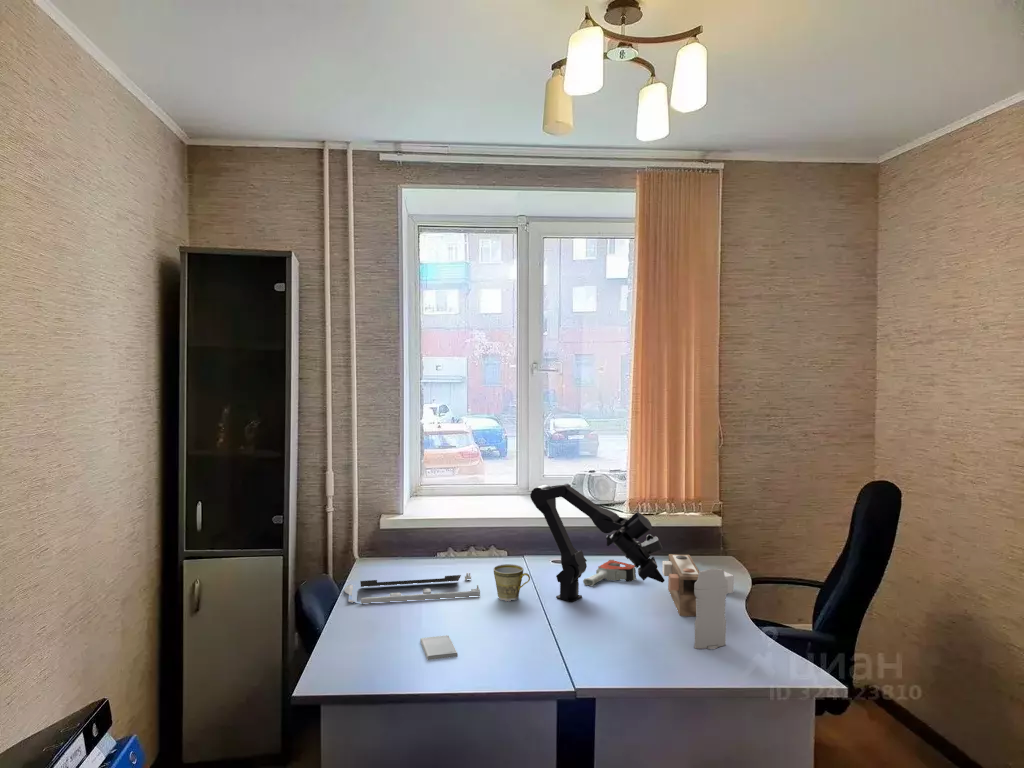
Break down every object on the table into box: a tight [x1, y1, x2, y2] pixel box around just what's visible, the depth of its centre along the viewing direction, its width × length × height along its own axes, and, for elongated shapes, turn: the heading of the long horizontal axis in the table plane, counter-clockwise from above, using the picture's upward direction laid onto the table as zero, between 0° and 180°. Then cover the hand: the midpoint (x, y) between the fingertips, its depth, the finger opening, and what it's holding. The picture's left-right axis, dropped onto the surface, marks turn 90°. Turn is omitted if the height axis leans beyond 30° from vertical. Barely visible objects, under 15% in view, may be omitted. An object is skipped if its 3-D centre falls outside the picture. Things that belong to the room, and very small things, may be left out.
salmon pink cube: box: [669, 574, 679, 591], centre depth 219 cm, size 4×4×4 cm
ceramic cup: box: [493, 563, 531, 602], centre depth 228 cm, size 13×10×10 cm
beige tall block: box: [694, 568, 728, 650], centre depth 191 cm, size 11×4×22 cm, turn 106°
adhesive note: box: [724, 571, 735, 594], centre depth 237 cm, size 6×6×6 cm
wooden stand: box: [667, 553, 700, 617], centre depth 226 cm, size 7×24×13 cm, turn 176°
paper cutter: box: [344, 572, 481, 604], centre depth 234 cm, size 18×45×6 cm, turn 102°
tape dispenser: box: [582, 559, 637, 587], centre depth 250 cm, size 18×5×20 cm
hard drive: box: [419, 634, 459, 661], centre depth 189 cm, size 2×8×12 cm
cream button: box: [662, 560, 672, 577], centre depth 233 cm, size 4×4×4 cm
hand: (663, 581), depth 219 cm, fingers closed
